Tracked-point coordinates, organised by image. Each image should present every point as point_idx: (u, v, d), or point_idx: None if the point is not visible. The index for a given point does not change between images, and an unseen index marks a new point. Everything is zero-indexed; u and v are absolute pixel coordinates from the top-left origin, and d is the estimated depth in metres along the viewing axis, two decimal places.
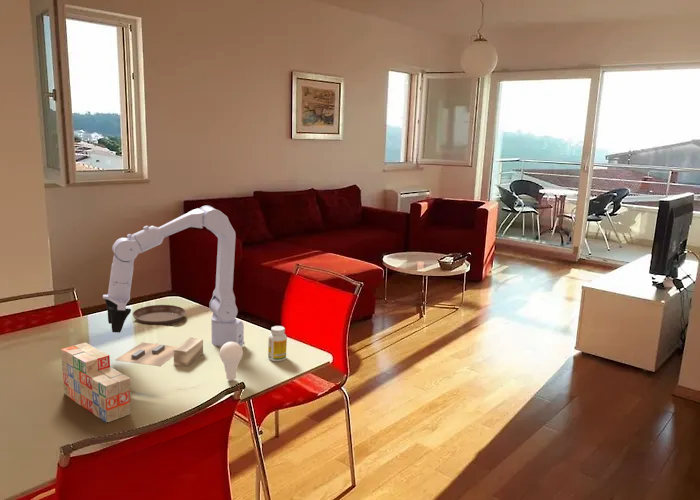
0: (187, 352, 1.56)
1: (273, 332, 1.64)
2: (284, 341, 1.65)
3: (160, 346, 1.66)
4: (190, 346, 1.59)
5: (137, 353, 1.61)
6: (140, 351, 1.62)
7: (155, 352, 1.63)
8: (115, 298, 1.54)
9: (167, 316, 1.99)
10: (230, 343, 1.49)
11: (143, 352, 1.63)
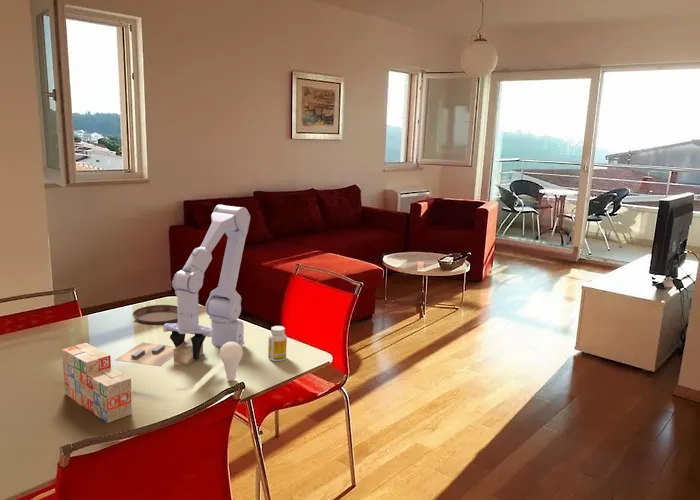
0: (187, 352, 1.56)
1: (273, 332, 1.64)
2: (284, 341, 1.65)
3: (160, 346, 1.66)
4: (190, 346, 1.59)
5: (137, 353, 1.61)
6: (140, 351, 1.62)
7: (155, 352, 1.63)
8: (195, 329, 1.58)
9: (167, 316, 1.99)
10: (230, 343, 1.49)
11: (143, 352, 1.63)
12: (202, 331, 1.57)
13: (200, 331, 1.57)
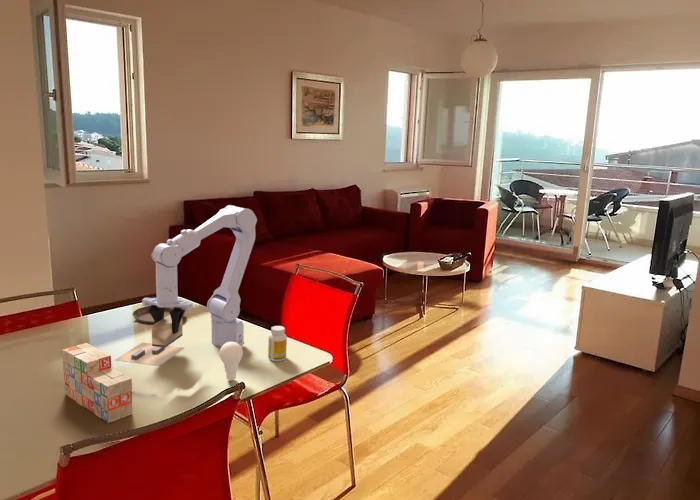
0: (165, 328, 1.55)
1: (273, 332, 1.64)
2: (284, 341, 1.65)
3: None
4: (169, 323, 1.58)
5: (137, 353, 1.61)
6: (140, 351, 1.62)
7: (155, 352, 1.63)
8: (173, 303, 1.57)
9: None
10: (230, 343, 1.49)
11: (143, 352, 1.63)
12: (181, 305, 1.57)
13: (179, 305, 1.57)
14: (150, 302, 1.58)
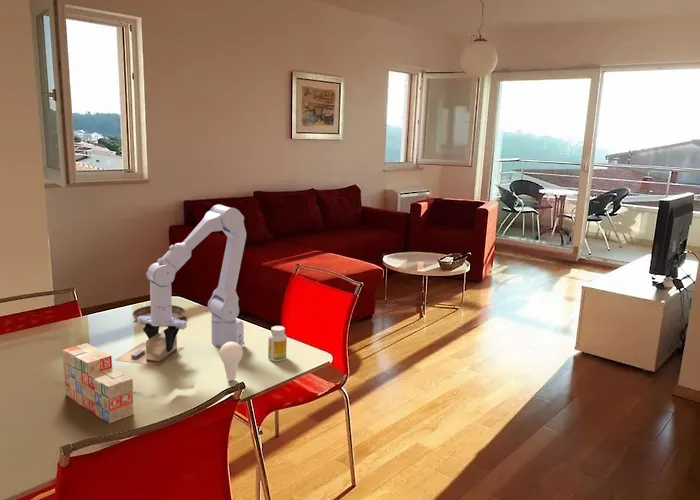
0: (159, 343, 1.57)
1: (273, 332, 1.64)
2: (284, 341, 1.65)
3: None
4: (163, 338, 1.59)
5: (137, 353, 1.61)
6: (140, 351, 1.62)
7: None
8: (168, 321, 1.59)
9: None
10: (230, 343, 1.49)
11: (143, 352, 1.63)
12: (175, 323, 1.58)
13: (173, 323, 1.58)
14: (144, 320, 1.60)
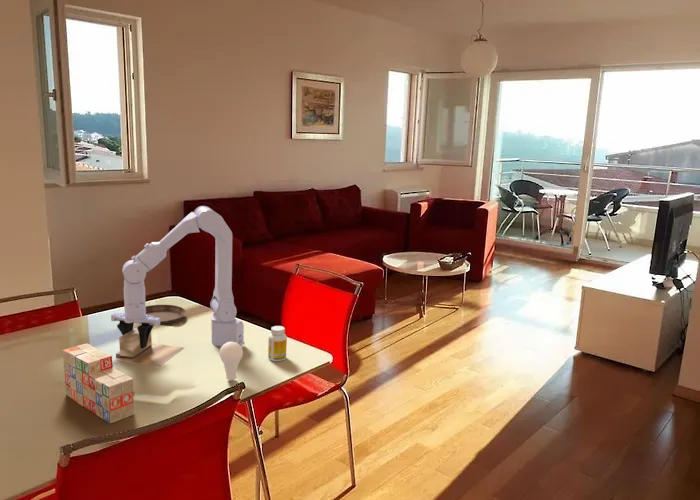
0: (132, 340, 1.58)
1: (273, 332, 1.64)
2: (284, 341, 1.65)
3: None
4: (136, 334, 1.61)
5: None
6: None
7: None
8: (141, 318, 1.60)
9: (167, 316, 1.99)
10: (230, 343, 1.49)
11: None
12: (148, 320, 1.60)
13: (146, 320, 1.60)
14: (118, 317, 1.61)
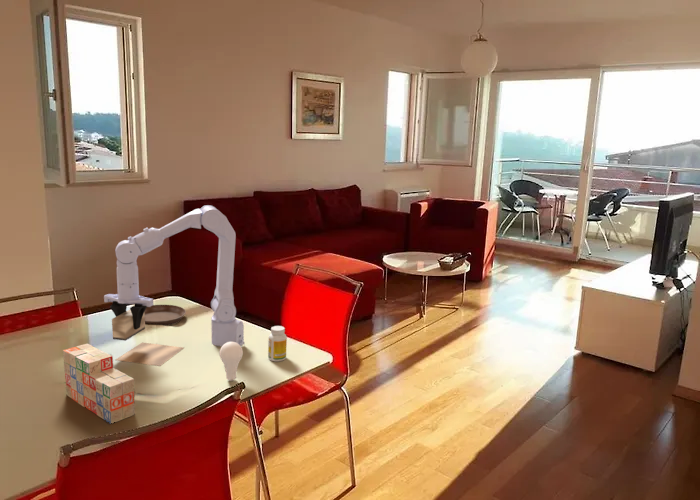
0: (125, 321, 1.57)
1: (273, 332, 1.64)
2: (284, 341, 1.65)
3: None
4: (129, 316, 1.60)
5: None
6: None
7: None
8: (134, 299, 1.60)
9: (167, 316, 1.99)
10: (230, 343, 1.49)
11: None
12: (141, 301, 1.59)
13: (139, 301, 1.59)
14: (111, 298, 1.60)
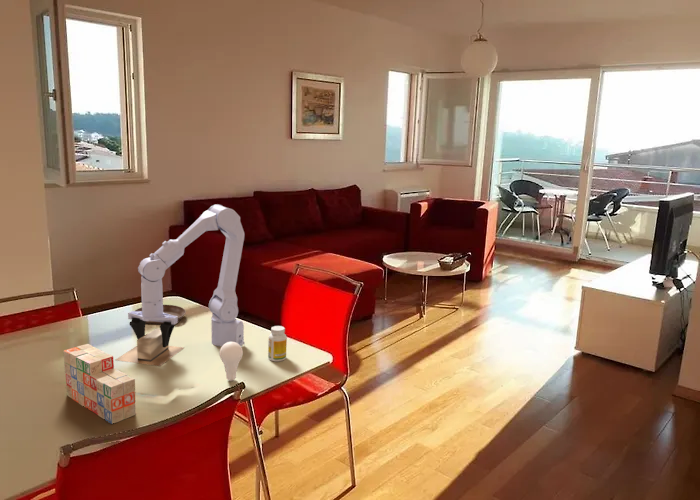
0: (150, 342, 1.57)
1: (273, 332, 1.64)
2: (284, 341, 1.65)
3: None
4: (154, 337, 1.60)
5: None
6: None
7: None
8: (159, 316, 1.59)
9: None
10: (230, 343, 1.49)
11: None
12: (166, 318, 1.59)
13: (164, 318, 1.58)
14: (136, 315, 1.60)
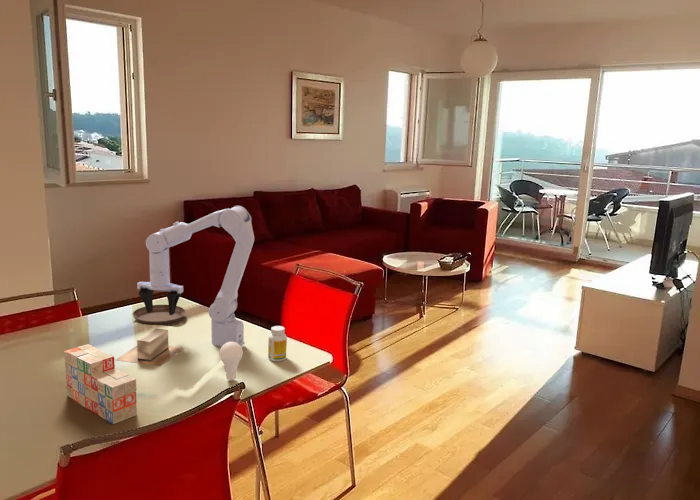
0: (150, 342, 1.57)
1: (273, 332, 1.64)
2: (284, 341, 1.65)
3: None
4: (154, 337, 1.60)
5: None
6: None
7: None
8: (166, 286, 1.72)
9: (167, 316, 1.99)
10: (230, 343, 1.49)
11: None
12: (172, 288, 1.71)
13: (170, 288, 1.71)
14: (144, 285, 1.72)
